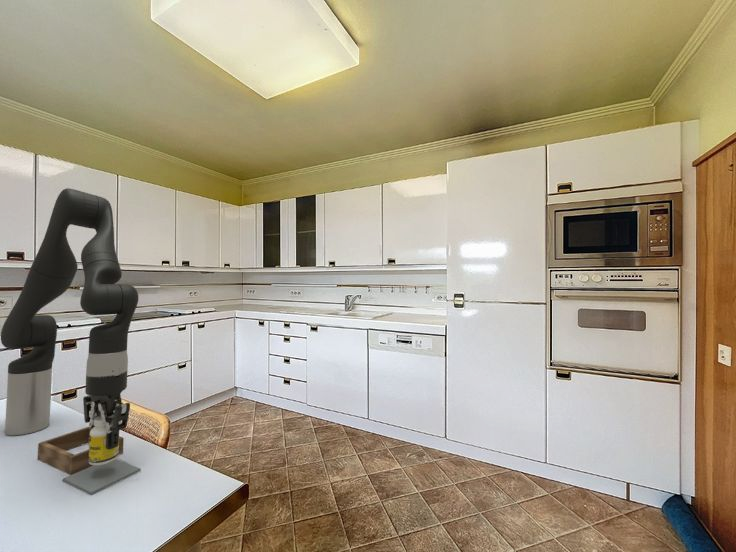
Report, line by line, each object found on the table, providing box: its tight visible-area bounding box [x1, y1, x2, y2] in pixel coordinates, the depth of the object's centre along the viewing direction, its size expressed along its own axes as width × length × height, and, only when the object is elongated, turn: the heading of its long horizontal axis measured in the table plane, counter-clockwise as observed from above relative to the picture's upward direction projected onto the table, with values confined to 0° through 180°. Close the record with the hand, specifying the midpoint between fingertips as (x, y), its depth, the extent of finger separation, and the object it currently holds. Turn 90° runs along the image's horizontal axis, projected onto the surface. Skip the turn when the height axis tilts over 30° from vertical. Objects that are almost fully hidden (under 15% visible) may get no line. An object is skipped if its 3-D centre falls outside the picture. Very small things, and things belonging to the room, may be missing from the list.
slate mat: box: [62, 458, 141, 496], centre depth 76 cm, size 11×10×1 cm
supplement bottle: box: [88, 415, 119, 465], centre depth 76 cm, size 5×5×10 cm
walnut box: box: [36, 426, 125, 476], centre depth 84 cm, size 15×11×4 cm
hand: (104, 444), depth 76 cm, fingers closed on supplement bottle, 5 cm apart
